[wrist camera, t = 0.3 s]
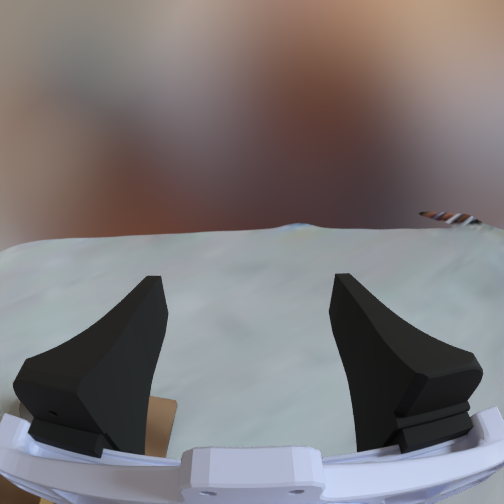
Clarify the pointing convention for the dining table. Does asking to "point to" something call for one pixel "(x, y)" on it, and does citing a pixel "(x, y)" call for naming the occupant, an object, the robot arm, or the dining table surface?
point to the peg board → (156, 444)
